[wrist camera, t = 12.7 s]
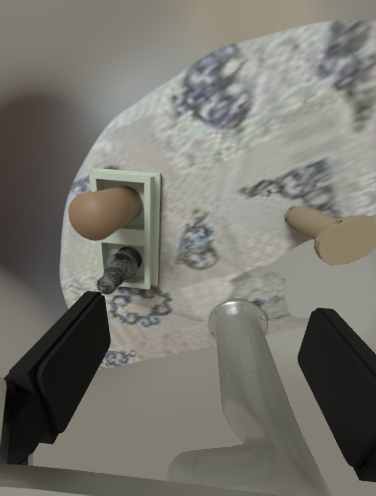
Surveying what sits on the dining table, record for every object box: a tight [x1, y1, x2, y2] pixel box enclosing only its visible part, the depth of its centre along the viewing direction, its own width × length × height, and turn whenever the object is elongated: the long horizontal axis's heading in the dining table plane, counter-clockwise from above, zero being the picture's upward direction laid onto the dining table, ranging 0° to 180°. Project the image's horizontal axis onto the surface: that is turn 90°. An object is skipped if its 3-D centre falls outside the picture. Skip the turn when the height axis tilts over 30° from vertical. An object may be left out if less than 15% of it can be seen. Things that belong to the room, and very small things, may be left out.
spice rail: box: [68, 168, 161, 289], centre depth 33 cm, size 22×12×13 cm, turn 176°
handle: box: [285, 206, 376, 265], centre depth 29 cm, size 5×6×15 cm
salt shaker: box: [97, 247, 142, 294], centre depth 35 cm, size 6×6×12 cm
